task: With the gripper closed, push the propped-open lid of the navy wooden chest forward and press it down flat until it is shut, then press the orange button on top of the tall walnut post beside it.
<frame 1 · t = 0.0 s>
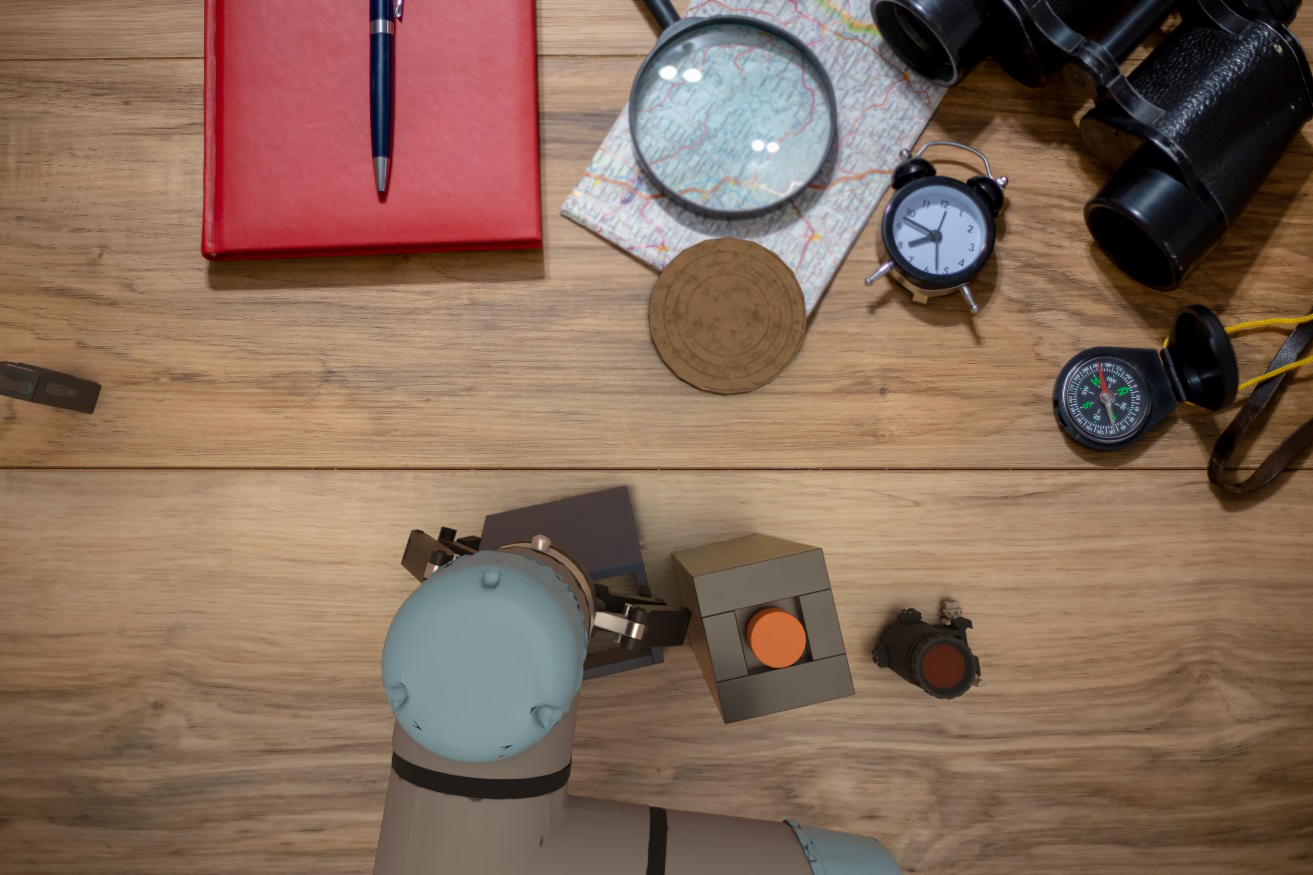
hand: (556, 577, 68), 20 cm above the table, tool pointing down, fingers open, 13 cm apart
button: (775, 636, 58), point 31 cm above the table, slide at 0.0 cm
brown round disc: (724, 321, 91), on the table
button post: (725, 590, 88), on the table
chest: (581, 581, 88), on the table
red dot sight: (906, 641, 89), on the table
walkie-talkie: (84, 394, 88), on the table
lid: (556, 539, 71), point 17 cm above the table, hinge at 69.4°, touching gripper
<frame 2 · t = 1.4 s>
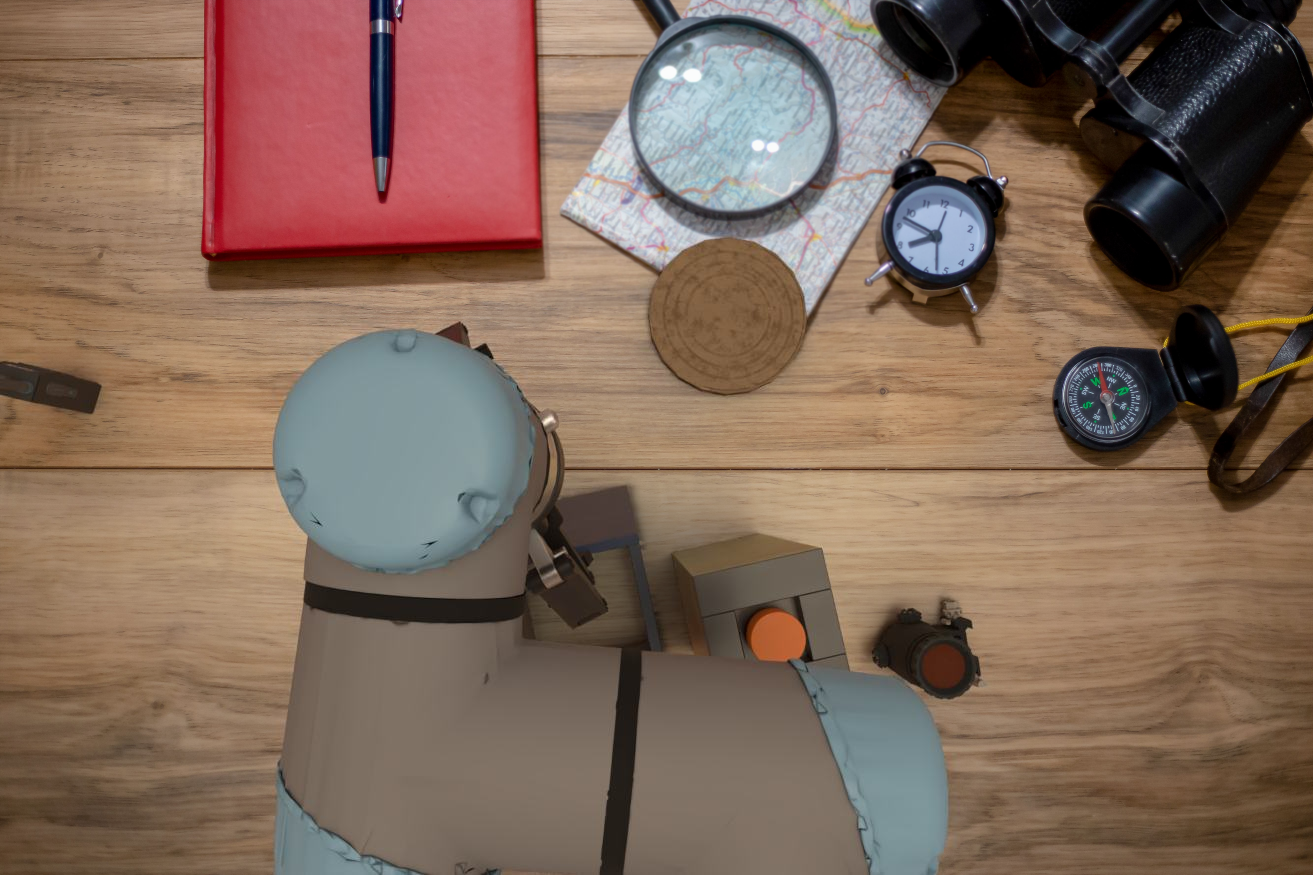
hand: (530, 477, 62), 27 cm above the table, tool pointing down, fingers open, 13 cm apart
lid: (554, 527, 71), point 18 cm above the table, hinge at 76.5°
everything else where it was.
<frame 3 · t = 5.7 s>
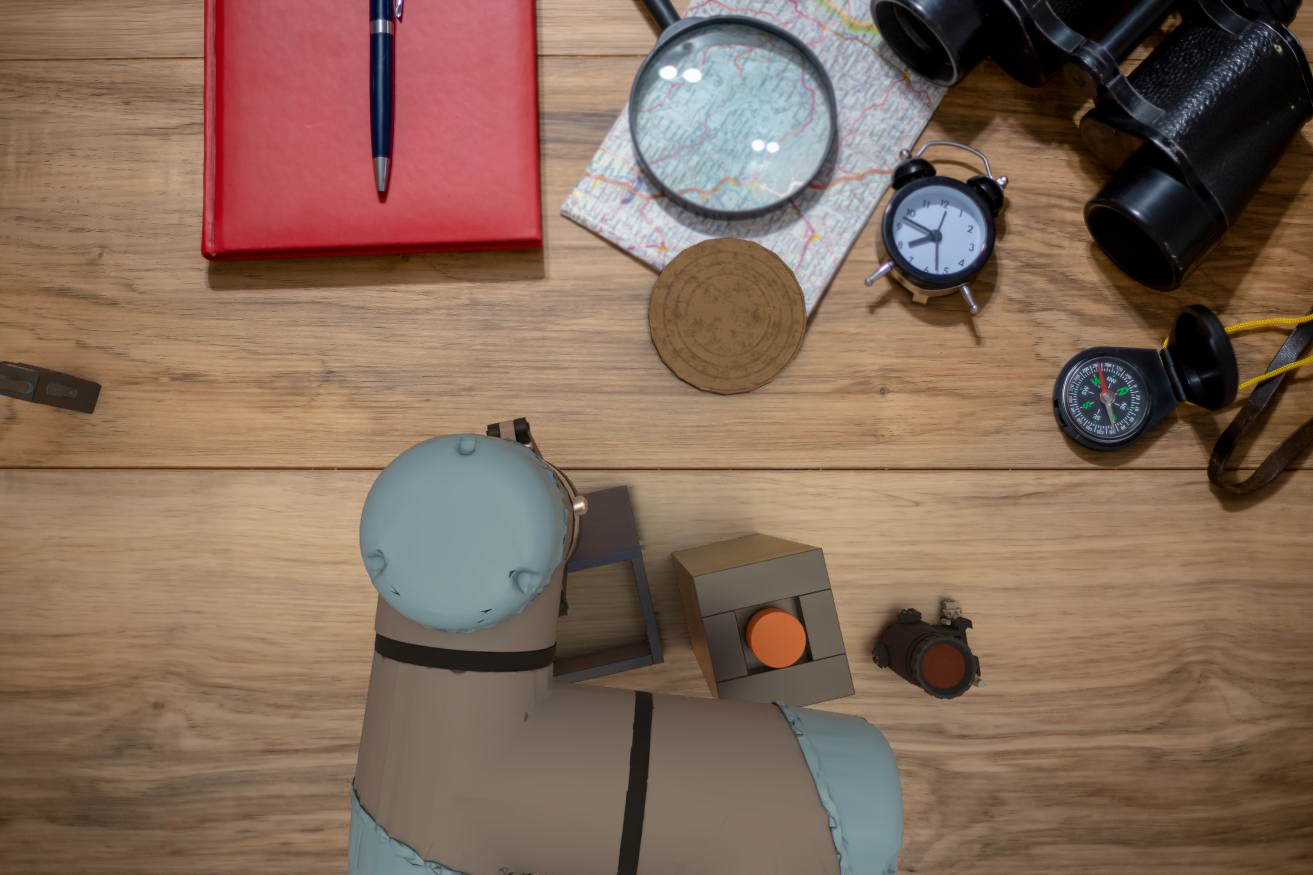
hand: (550, 516, 70), 18 cm above the table, tool pointing down, fingers closed
lid: (555, 533, 71), point 17 cm above the table, hinge at 73.0°, touching gripper
everything else where it was.
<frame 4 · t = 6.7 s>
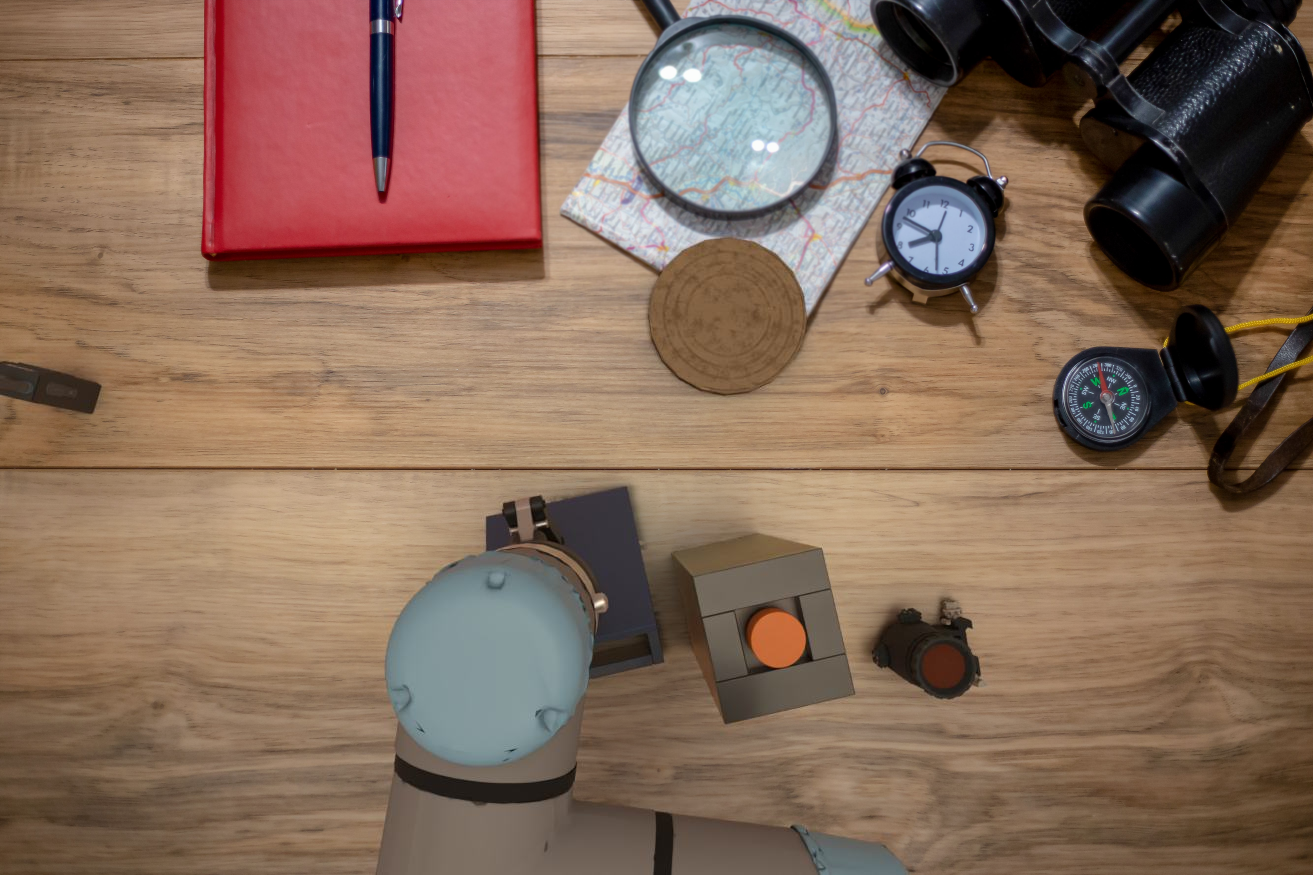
hand: (562, 577, 70), 18 cm above the table, tool pointing down, fingers closed
lid: (564, 568, 72), point 16 cm above the table, hinge at 49.5°, touching gripper
everything else where it was.
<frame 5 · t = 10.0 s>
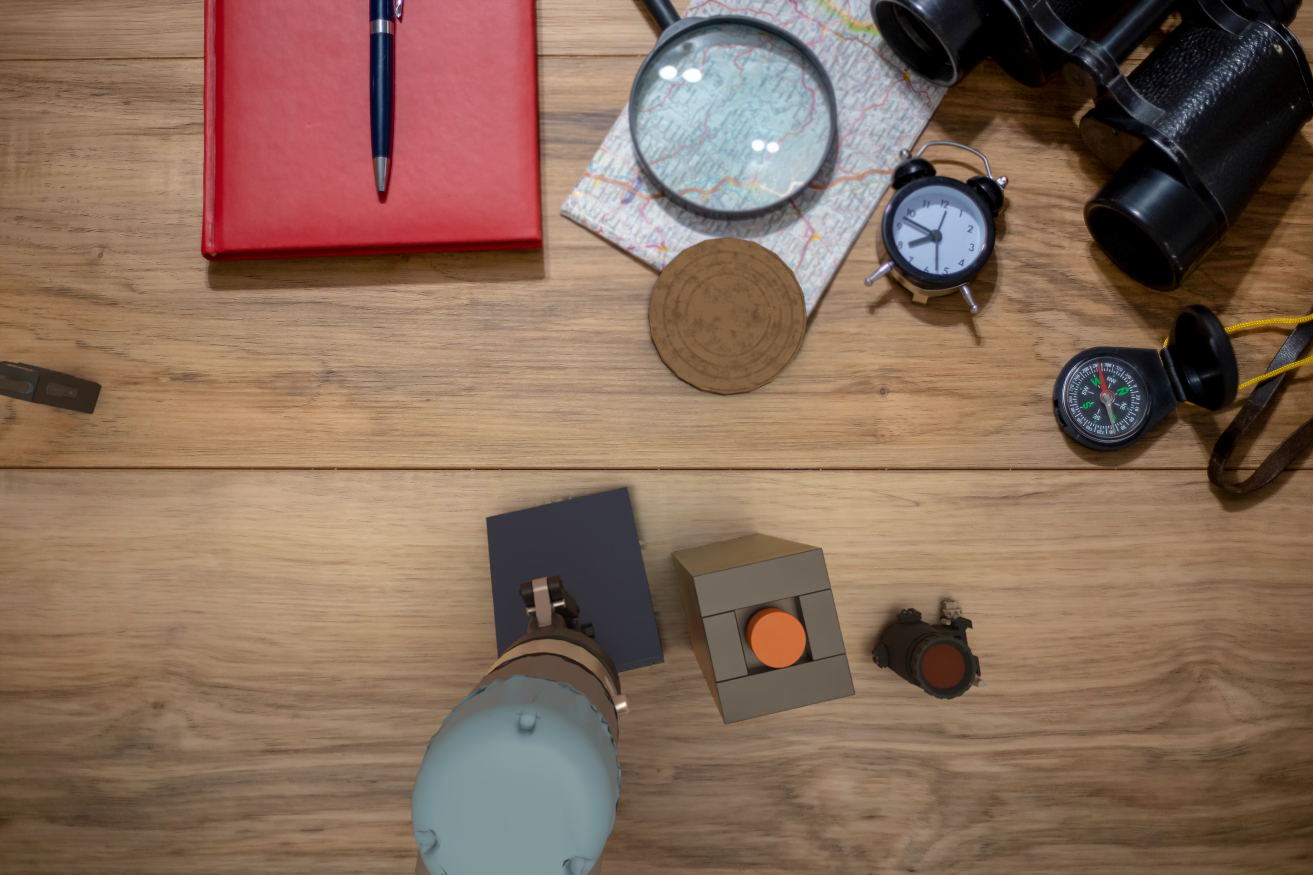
hand: (576, 638, 70), 18 cm above the table, tool pointing down, fingers closed
lid: (569, 584, 74), point 14 cm above the table, hinge at 34.7°, touching gripper
everything else where it was.
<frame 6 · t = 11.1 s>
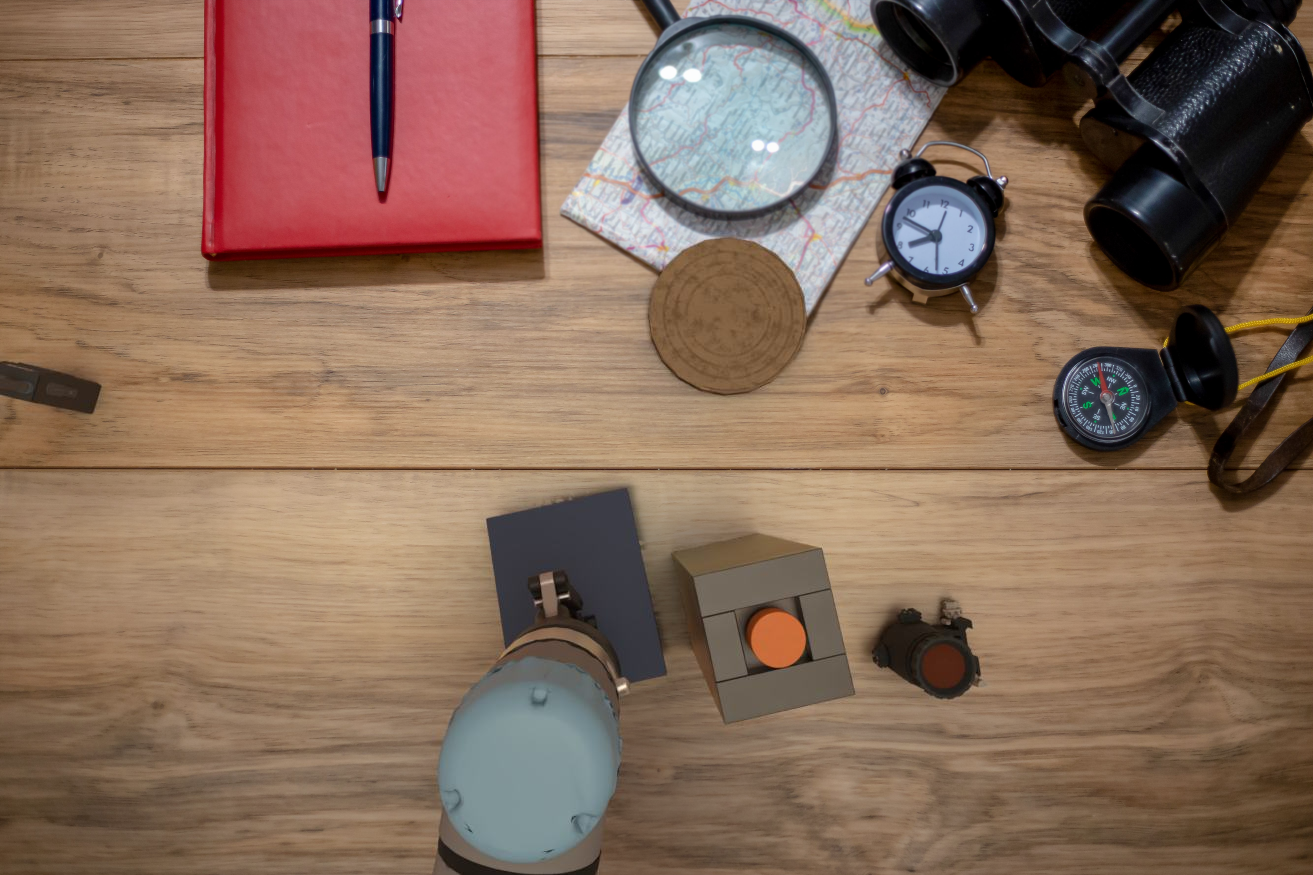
hand: (579, 630, 74), 14 cm above the table, tool pointing down, fingers closed
lid: (573, 594, 76), point 12 cm above the table, hinge at 17.9°, touching gripper
everything else where it was.
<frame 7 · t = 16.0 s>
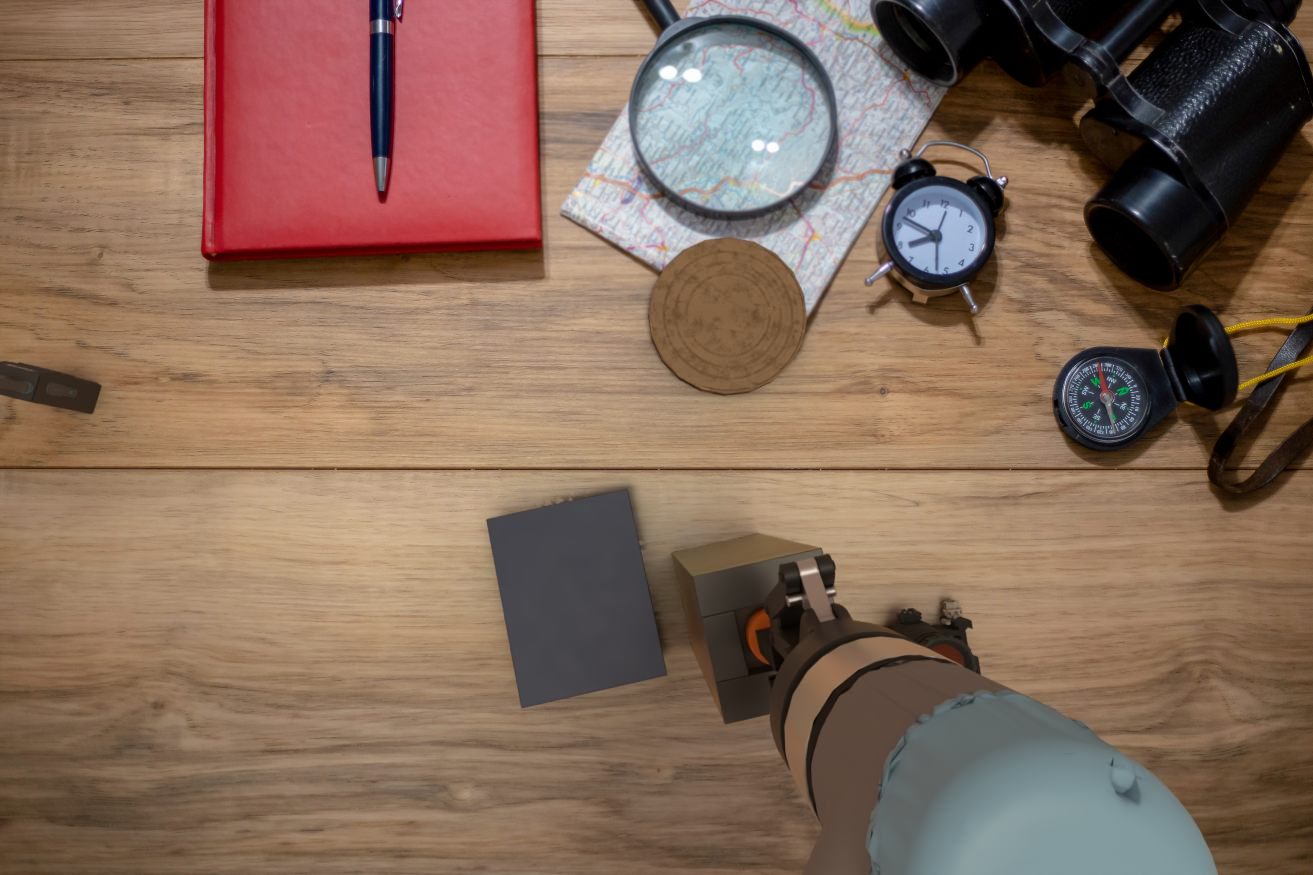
hand: (777, 636, 57), 31 cm above the table, tool pointing down, fingers closed
button: (773, 634, 59), point 30 cm above the table, slide at -0.9 cm, touching gripper
lid: (575, 596, 78), point 10 cm above the table, hinge at 5.5°
everything else where it was.
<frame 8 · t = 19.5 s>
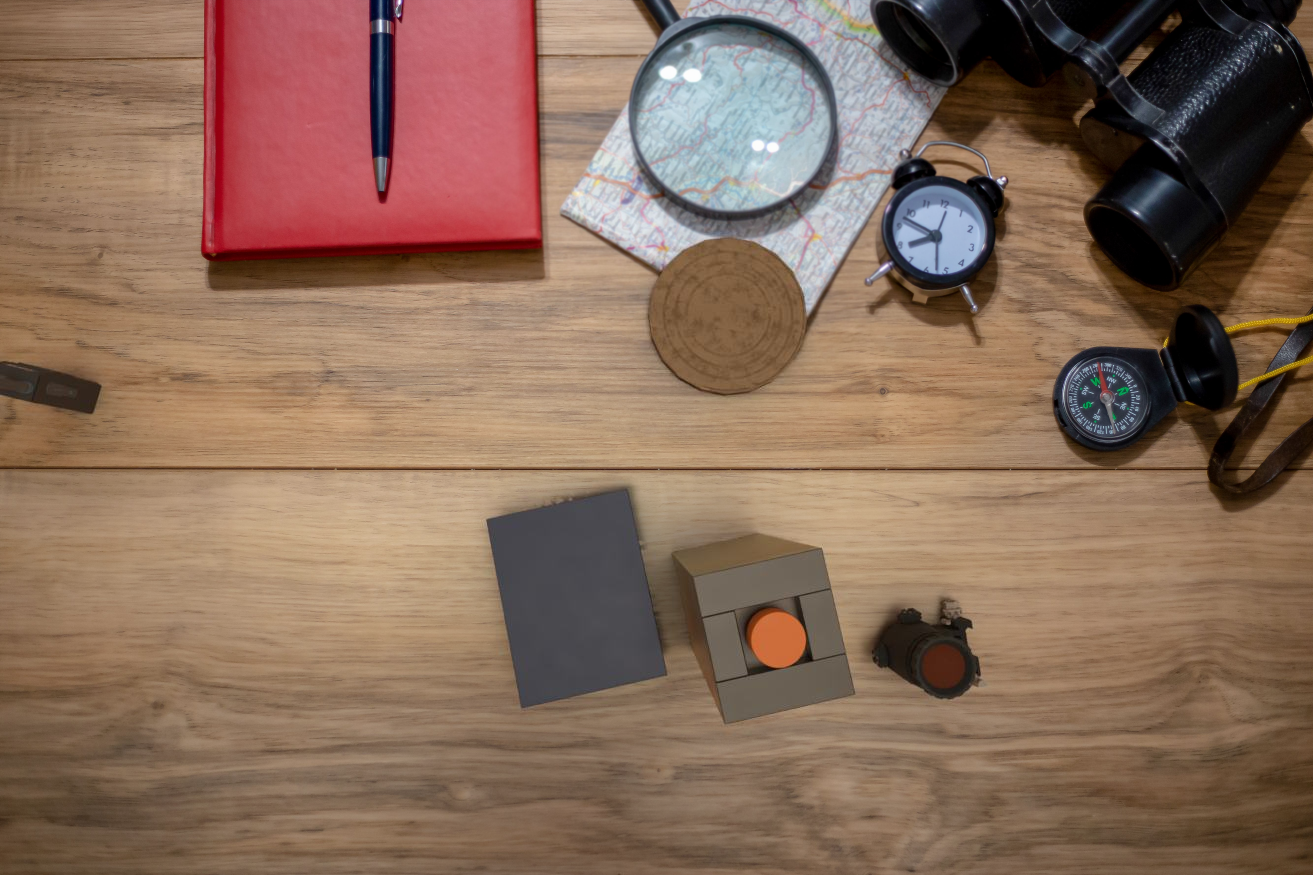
button: (775, 637, 58), point 31 cm above the table, slide at 0.1 cm
everything else where it was.
at the end: lid at +6° (first picture: +69°); button pushed in 0.9 cm at the most during the clip, back to where it started at the end; button slide at 0.1 cm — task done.
